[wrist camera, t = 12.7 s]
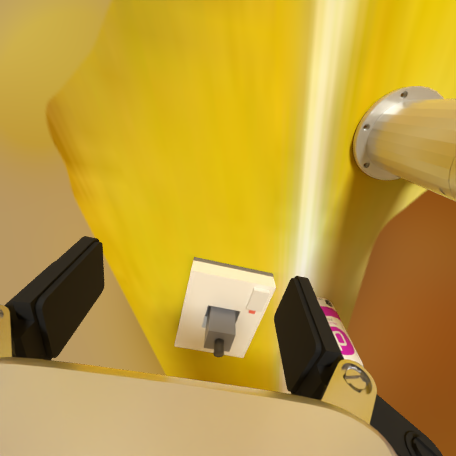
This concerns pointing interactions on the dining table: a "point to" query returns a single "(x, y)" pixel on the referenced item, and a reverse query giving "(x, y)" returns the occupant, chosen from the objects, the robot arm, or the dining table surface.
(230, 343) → the plug
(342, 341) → the supplement can
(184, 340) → the socket
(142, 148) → the dining table surface
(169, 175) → the dining table surface
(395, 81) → the dining table surface
